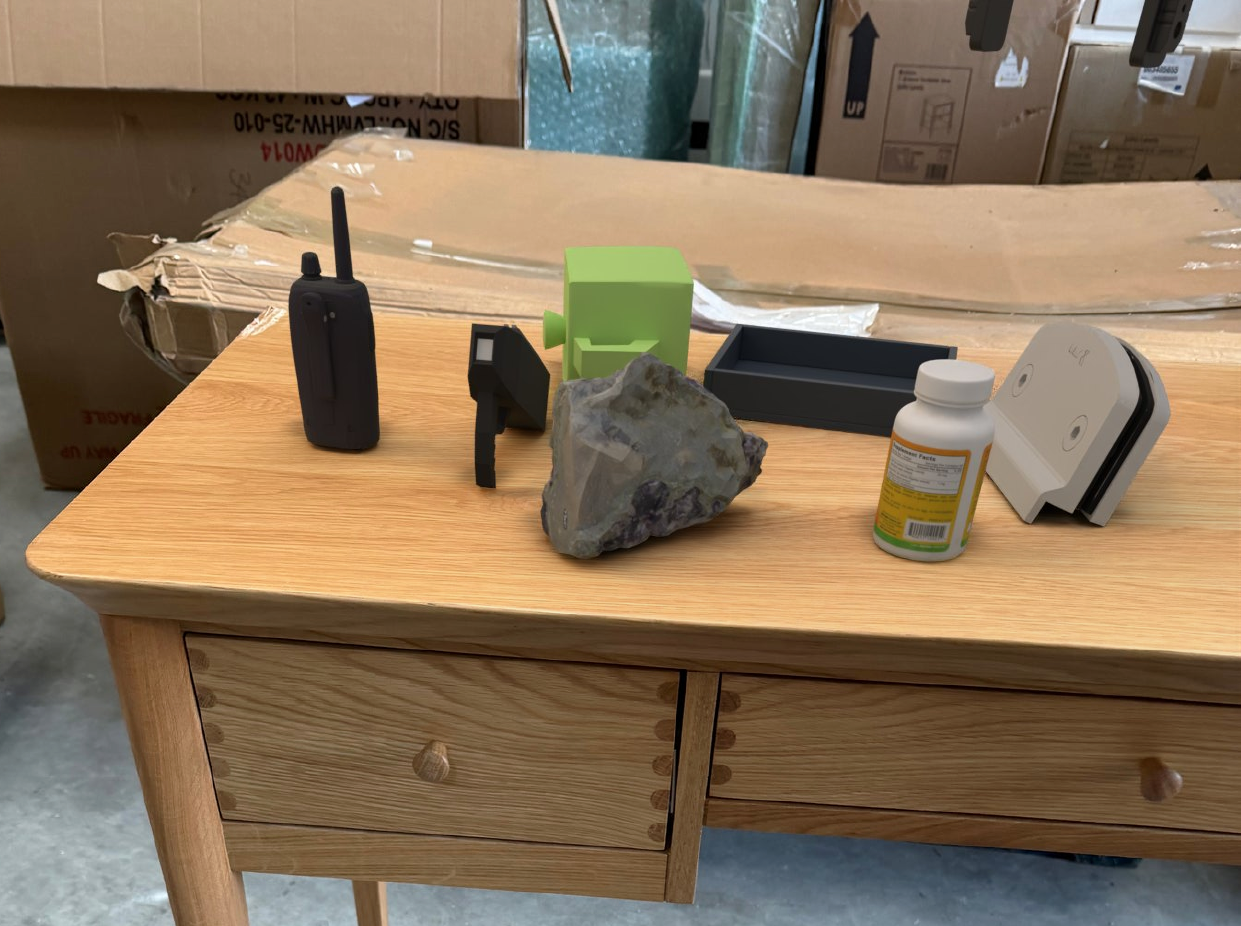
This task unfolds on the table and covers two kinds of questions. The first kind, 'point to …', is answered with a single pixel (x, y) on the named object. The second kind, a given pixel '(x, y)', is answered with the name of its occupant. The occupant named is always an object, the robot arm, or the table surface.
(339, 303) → the two-way radio
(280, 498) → the table surface
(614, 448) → the mineral rock
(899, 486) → the supplement bottle
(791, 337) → the tray
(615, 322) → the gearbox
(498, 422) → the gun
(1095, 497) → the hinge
